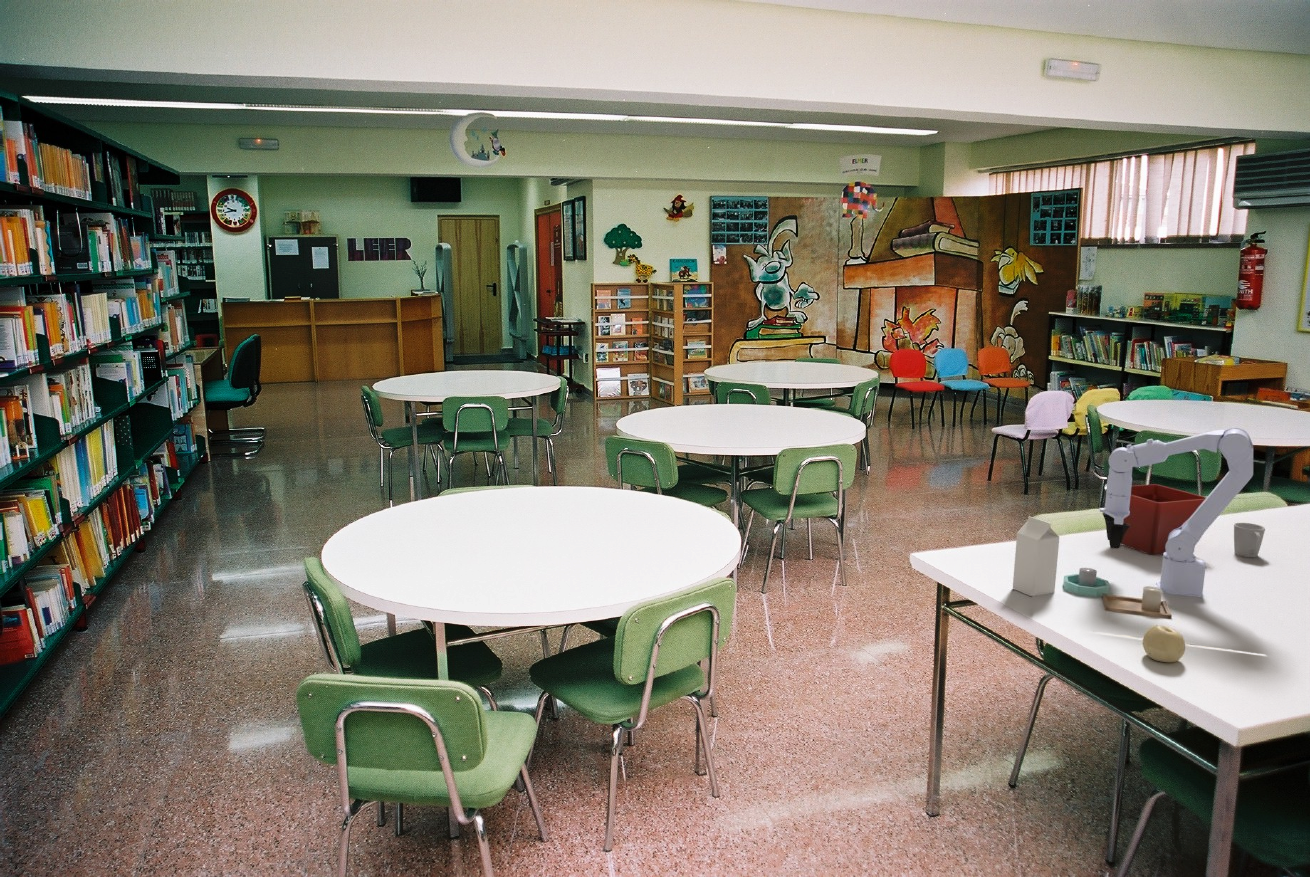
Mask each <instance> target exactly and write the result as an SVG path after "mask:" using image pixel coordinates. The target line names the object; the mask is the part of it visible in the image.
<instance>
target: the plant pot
mask: <svg viewBox="0 0 1310 877" xmlns="http://www.w3.org/2000/svg"><path fill="white" fill-rule="evenodd" d="M1206 498H1207V496H1202V495H1198V494H1195V493H1191V492H1188V491H1183V490H1181V489H1177V488H1172V487H1168V486H1164V485H1161V484H1157V483H1155V484H1154V483H1153V484H1141V485H1140V484H1139V485H1132V487H1131V497H1130V506H1129V511H1130V514H1129V515H1128V516H1127V517H1126V518H1125V519H1124V521H1123V523H1126V524H1130V527H1129V528H1128V530H1127V531H1126V533H1125V535H1124V537H1123V540H1122V543H1121V546H1125V547H1128V548H1131V549H1133V550H1135V551H1139V552H1141V553H1144V554H1148V555H1151V556H1158V555H1163V554H1164V553H1165V552H1166V549H1165V546H1166V543H1167V541H1168V536H1169V534H1170V533H1171V532H1172V531H1173V530H1174V529H1177V528H1179V527H1181V526H1182V525H1183V524H1184V522H1186V521H1187V520H1188V519H1189V518H1190V517H1191V516H1192V514H1193V513H1194V512H1195V511H1196V510H1197V508H1198V507H1199V506H1200V505H1201V504H1202V503H1203V501H1204V500H1205V499H1206Z"/></svg>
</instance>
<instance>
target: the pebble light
mask: <svg viewBox="0 0 1310 877" xmlns="http://www.w3.org/2000/svg"><path fill="white" fill-rule="evenodd" d="M1162 595H1163V593H1162V590H1161V589H1160V588H1158V586H1157V587H1155V586H1150V585H1149V586H1143V588H1142V596H1141V598H1142V605H1141V608H1142V609H1143V610H1146V611H1150V612H1159V611H1160V606H1161V601H1162V597H1163V596H1162Z"/></svg>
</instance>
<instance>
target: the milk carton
mask: <svg viewBox="0 0 1310 877" xmlns="http://www.w3.org/2000/svg"><path fill="white" fill-rule="evenodd" d="M1051 525H1052V524H1051V522H1048V521H1045V520H1043V519H1040V518H1036V517H1032V516H1030V515H1028V517H1027V521H1026V522H1025V523H1024V524H1023V525H1022V527H1020V529H1018V531H1017V532H1016V543H1015V553H1014V555H1015V556H1014V565H1013V566H1014V567H1013V577H1012V578H1013V580H1012V589H1014V590H1016V591H1018V592H1020V593H1023V594H1024V595H1027V596H1030V597H1031V598H1032V597H1037V596H1042V595H1048V594H1052V593H1053V594H1054V593H1055V590H1056V589H1055V588H1056V581H1057V580H1056V579H1057V569H1058V557H1059V548H1060V547H1059V546H1060V544H1059V543H1060V536H1059V534H1057V533H1056V532H1055V531H1054V530H1053V529H1052V528H1051Z"/></svg>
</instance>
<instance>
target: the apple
mask: <svg viewBox="0 0 1310 877" xmlns="http://www.w3.org/2000/svg"><path fill="white" fill-rule="evenodd" d="M1142 646H1143V647H1142V648H1143V650H1144V652H1145V654H1146V655H1147V656H1148V658H1150V659H1153V660H1154V661H1157V662H1162V663H1174V662H1177V661H1179V660H1181V658H1182V657H1183V656H1184V655H1185V652H1186V642H1185V639H1184V636H1183V635H1182V634H1181V632H1179V631H1178V630H1176V629H1174V628H1171V627H1169V626H1165V625H1161V624H1160V625H1159V624H1156V625H1154V626H1152V627H1150V628H1148V630H1146V631H1145V633H1144V635H1143V639H1142Z"/></svg>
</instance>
